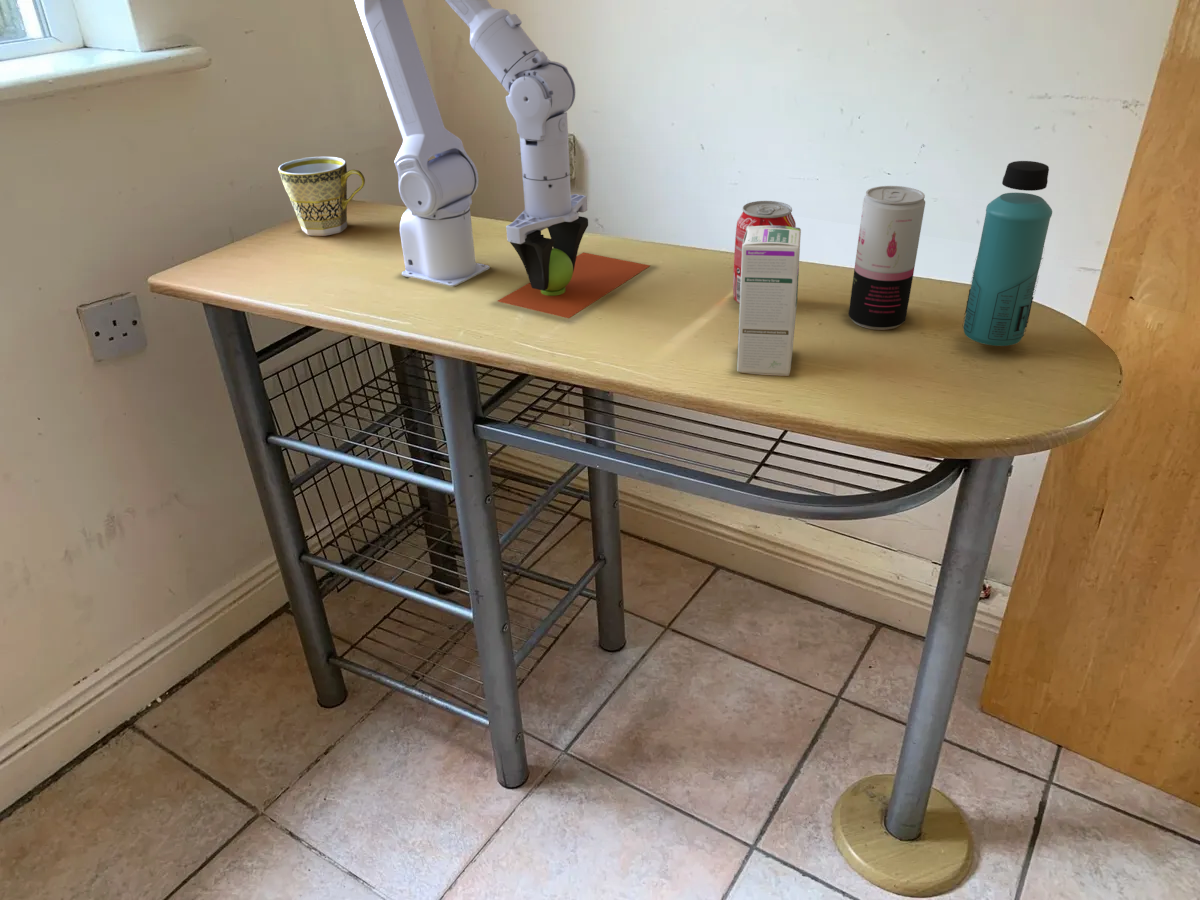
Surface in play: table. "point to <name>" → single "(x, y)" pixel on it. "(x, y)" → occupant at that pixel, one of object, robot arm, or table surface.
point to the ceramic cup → (319, 193)
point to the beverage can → (886, 256)
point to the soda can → (757, 216)
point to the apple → (558, 273)
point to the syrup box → (768, 299)
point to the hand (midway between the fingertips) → (552, 281)
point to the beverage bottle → (1009, 258)
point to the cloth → (578, 286)
